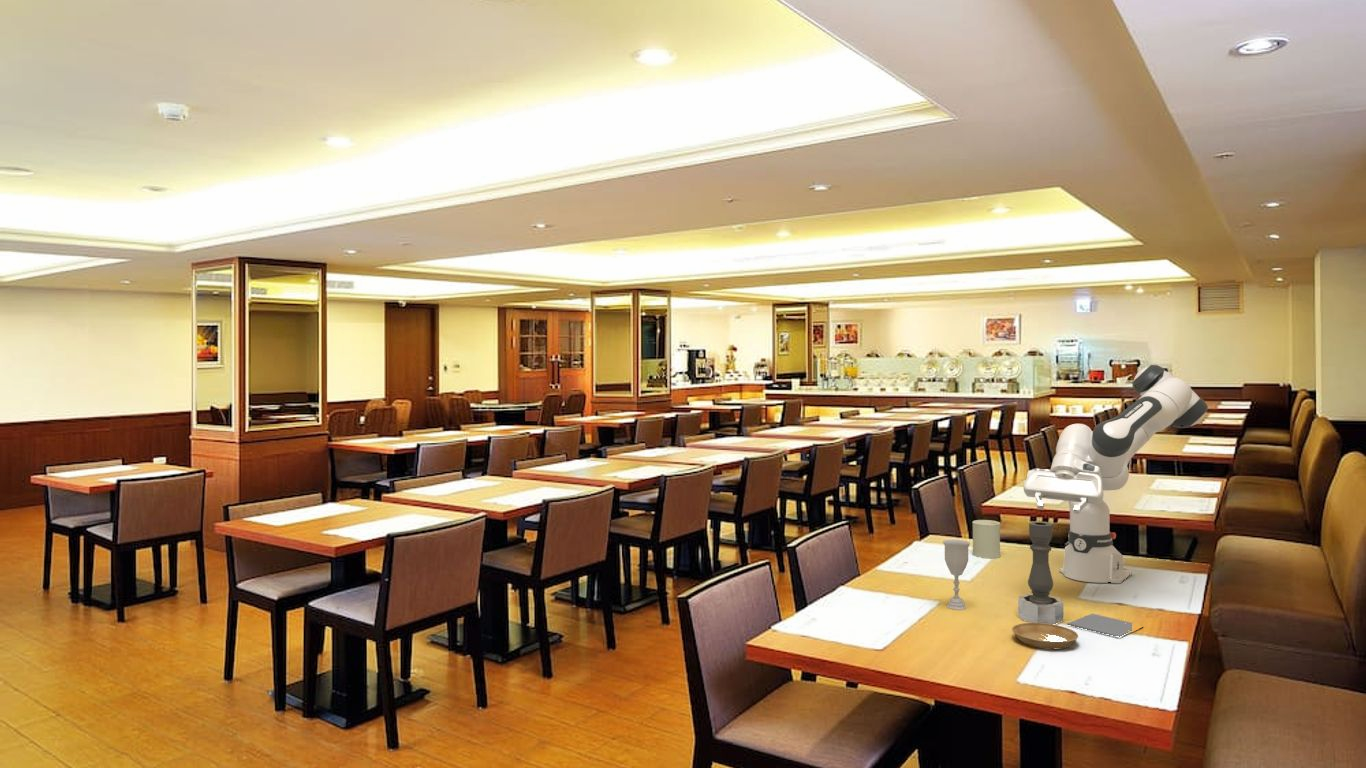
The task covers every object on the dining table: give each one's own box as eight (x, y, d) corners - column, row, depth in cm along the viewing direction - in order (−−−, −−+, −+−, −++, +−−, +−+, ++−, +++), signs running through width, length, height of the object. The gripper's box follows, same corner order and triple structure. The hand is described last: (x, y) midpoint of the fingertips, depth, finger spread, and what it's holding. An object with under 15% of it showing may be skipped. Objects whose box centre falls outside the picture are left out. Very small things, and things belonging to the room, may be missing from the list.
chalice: (971, 605, 234) (971, 540, 234) (969, 611, 228) (969, 545, 228) (944, 602, 237) (944, 538, 237) (940, 608, 231) (940, 543, 231)
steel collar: (1032, 610, 229) (1032, 591, 229) (1069, 619, 221) (1069, 600, 221) (1012, 617, 223) (1012, 598, 223) (1048, 627, 215) (1048, 607, 215)
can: (997, 559, 286) (997, 524, 286) (969, 556, 291) (969, 521, 291) (1003, 554, 294) (1003, 520, 293) (976, 551, 299) (976, 517, 298)
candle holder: (1023, 615, 225) (1023, 521, 224) (1045, 614, 225) (1046, 521, 224) (1035, 622, 219) (1035, 526, 218) (1058, 621, 219) (1058, 525, 218)
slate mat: (1092, 615, 224) (1092, 613, 224) (1143, 627, 213) (1143, 625, 213) (1067, 625, 216) (1067, 623, 216) (1119, 638, 205) (1119, 636, 205)
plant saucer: (998, 636, 209) (998, 626, 208) (1045, 629, 214) (1045, 619, 214) (1043, 656, 195) (1043, 645, 195) (1092, 648, 200) (1092, 637, 200)
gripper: (1027, 460, 242) (1016, 498, 235) (1105, 467, 230) (1097, 507, 223) (1030, 474, 246) (1020, 512, 238) (1108, 482, 234) (1099, 522, 226)
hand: (1058, 510), depth 230 cm, fingers open, 8 cm apart
